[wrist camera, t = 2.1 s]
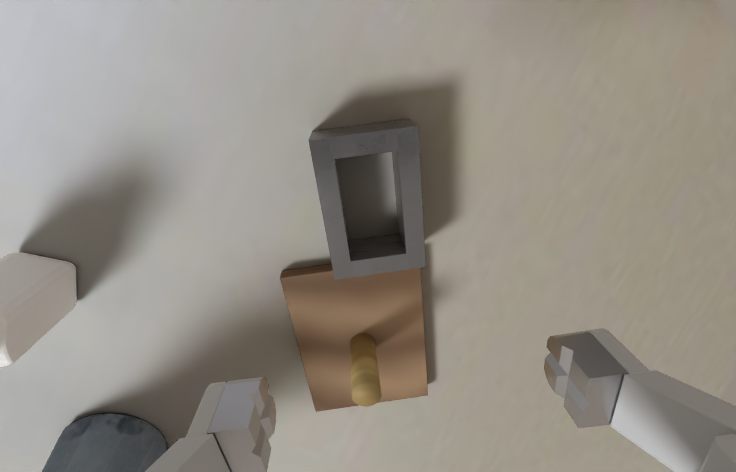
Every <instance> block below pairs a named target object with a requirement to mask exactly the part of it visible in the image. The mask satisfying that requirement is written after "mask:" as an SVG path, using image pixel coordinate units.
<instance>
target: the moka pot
mask: <svg viewBox="0 0 736 472" xmlns="http://www.w3.org/2000/svg"><path fill="white" fill-rule="evenodd" d="M167 450H168V448H167V444H166V441H165V439H164V437H163V435H162V434H161V433H160V432H159V431H158V430H157V429H156V428H155V427H153V426H152V425H151V424H149V423H147V422H145V421H143V420H140V419H138V418H135V417H132V416H129V415H122V414H109V413H106V414H96V415H90V416H88V417H86V418H82V419H80V420H79V421H76V422H73V423H72V424H70V425H69V426H67V427H66V428H65V429H64V431H63V432H62V434H61V436H60V437H59V439H58V441H57V443H56V445H55V447H54V449H53V451H52V453H51V455H50V457H49V459H48V461H47V463H46V465H45V467H44V469H43V470H42V472H145V471H146V470H147V469H148V468H149V467H150V466H151V465H152V464H153V463H154V462H155V461H156V460H158V459H159V458H160V457H161V456H162V455H163V454H164V453H165V452H166V451H167Z"/></svg>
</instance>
